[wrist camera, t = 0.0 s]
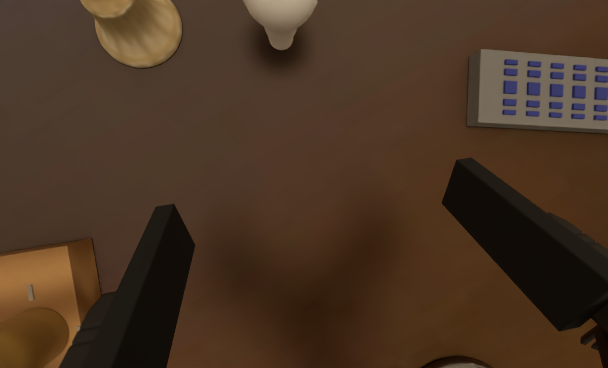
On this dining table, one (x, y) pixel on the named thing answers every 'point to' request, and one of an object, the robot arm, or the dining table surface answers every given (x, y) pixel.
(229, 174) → the dining table surface
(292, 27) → the lightbulb
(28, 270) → the dimmer console
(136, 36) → the hand bell
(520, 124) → the remote control
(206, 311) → the dining table surface
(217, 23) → the dining table surface
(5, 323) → the dimmer knob
